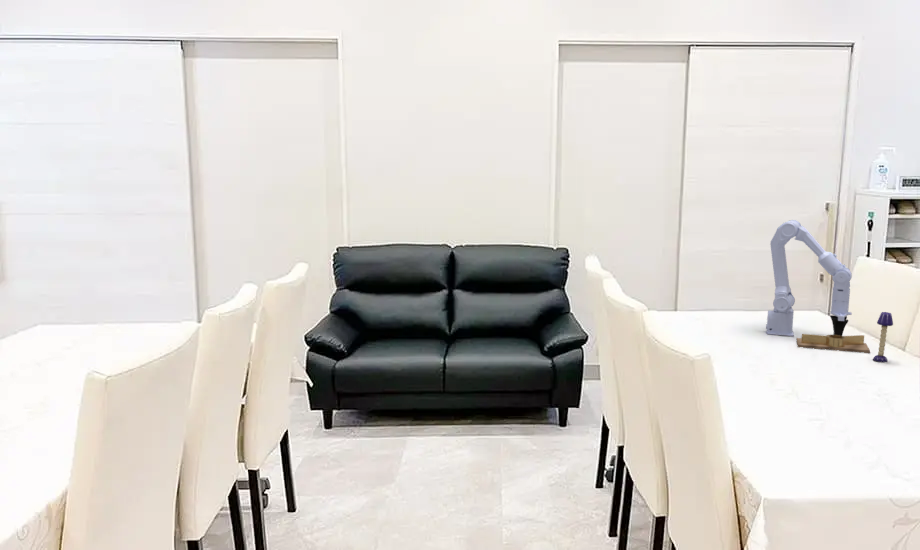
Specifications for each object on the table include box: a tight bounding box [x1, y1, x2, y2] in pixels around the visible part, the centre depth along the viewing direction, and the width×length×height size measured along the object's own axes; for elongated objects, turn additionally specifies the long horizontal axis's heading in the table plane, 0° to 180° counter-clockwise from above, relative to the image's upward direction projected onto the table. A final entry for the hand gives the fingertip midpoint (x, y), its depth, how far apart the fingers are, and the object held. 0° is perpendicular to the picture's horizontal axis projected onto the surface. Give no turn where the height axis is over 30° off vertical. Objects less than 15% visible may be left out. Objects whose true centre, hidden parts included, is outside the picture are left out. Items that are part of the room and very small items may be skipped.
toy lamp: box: [872, 311, 894, 363], centre depth 245 cm, size 5×5×17 cm
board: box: [796, 337, 871, 354], centre depth 265 cm, size 23×10×1 cm, turn 68°
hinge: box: [801, 333, 865, 348], centre depth 264 cm, size 21×9×3 cm, turn 68°
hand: (837, 335), depth 274 cm, fingers closed on pin, 3 cm apart
